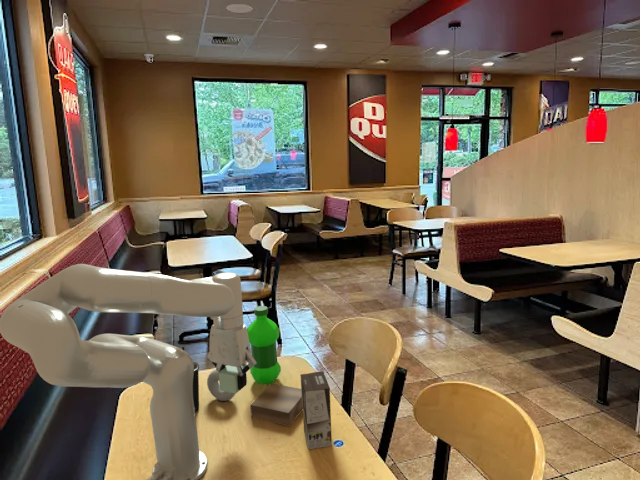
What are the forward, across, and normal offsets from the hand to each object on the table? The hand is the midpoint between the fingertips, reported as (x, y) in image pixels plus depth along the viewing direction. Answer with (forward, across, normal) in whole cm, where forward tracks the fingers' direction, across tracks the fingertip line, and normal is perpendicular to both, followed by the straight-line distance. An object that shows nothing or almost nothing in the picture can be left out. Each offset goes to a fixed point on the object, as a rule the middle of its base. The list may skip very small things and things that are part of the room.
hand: (233, 384), depth 118 cm
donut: (+13, -12, +11) cm, 21 cm away
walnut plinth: (+13, +7, +12) cm, 19 cm away
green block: (+1, 0, 0) cm, 1 cm away
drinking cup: (+13, -18, +3) cm, 22 cm away
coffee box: (+13, +22, +4) cm, 26 cm away
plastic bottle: (+13, -5, +25) cm, 28 cm away
